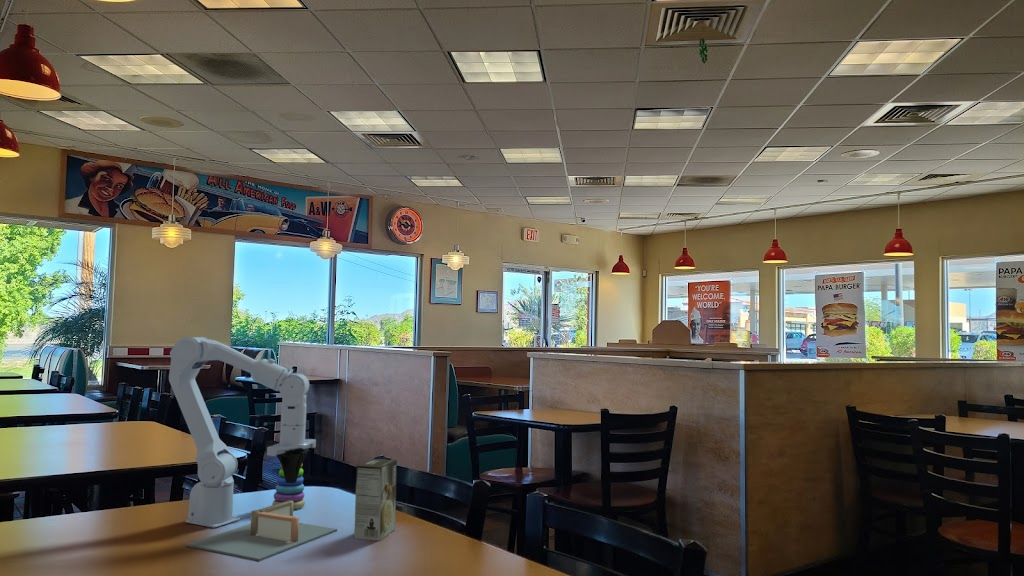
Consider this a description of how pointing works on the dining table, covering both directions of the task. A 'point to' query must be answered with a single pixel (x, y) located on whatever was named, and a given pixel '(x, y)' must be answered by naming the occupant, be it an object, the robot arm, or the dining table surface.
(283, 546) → the mat
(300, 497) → the stacking toy
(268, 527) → the hinged fence panel
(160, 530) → the dining table surface
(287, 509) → the fence fixed
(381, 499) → the coffee box
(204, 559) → the dining table surface
